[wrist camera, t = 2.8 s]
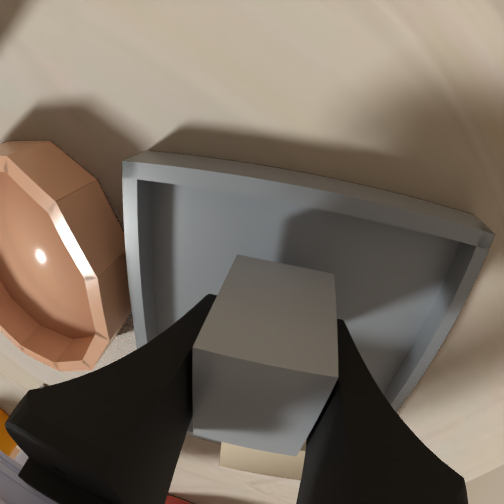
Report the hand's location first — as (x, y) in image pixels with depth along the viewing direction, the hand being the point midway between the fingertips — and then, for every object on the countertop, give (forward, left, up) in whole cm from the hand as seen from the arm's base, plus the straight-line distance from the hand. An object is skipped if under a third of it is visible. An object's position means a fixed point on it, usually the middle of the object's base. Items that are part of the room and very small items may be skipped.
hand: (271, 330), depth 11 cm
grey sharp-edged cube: (0, 0, -1) cm, 1 cm away
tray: (-3, -1, -3) cm, 5 cm away
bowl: (-1, +13, -3) cm, 13 cm away
